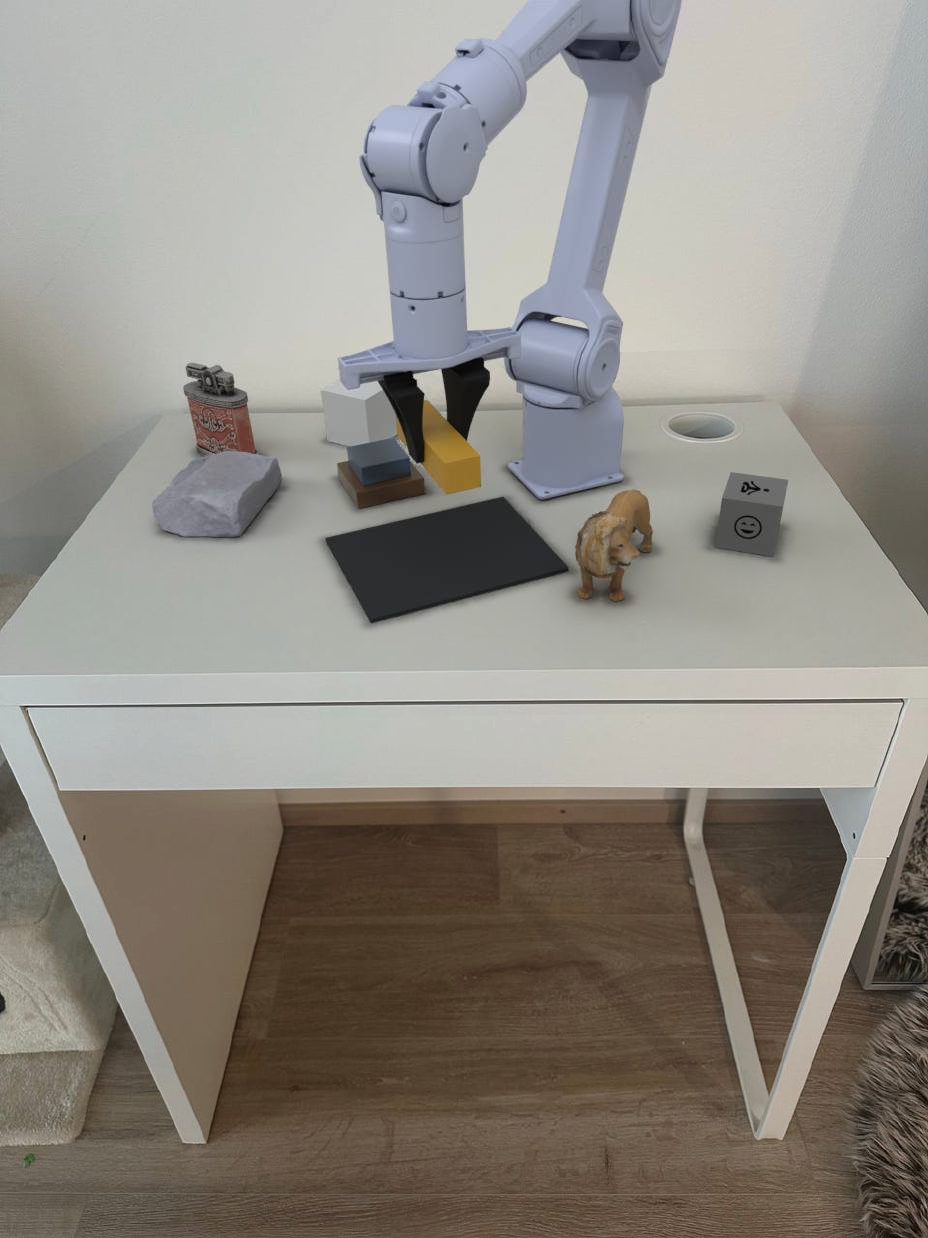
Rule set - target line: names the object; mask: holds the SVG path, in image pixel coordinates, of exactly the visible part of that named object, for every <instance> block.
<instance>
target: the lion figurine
mask: <svg viewBox="0 0 928 1238" xmlns="http://www.w3.org/2000/svg"><path fill="white" fill-rule="evenodd" d="M636 531H637V532H638V533H639V534H640V535H642V536H643V537H642V541H641V542H640V543H639V550H638V549H637V548H636V547H635V546H634V545H633V544H632V543H631V540H630V539H631V537H632V534H634V533H635V532H636ZM653 533H654V530H653V527H652V525H651V510H650V504H649V499H648V497H647V496H646V495H645V494H643V493H642V492H641V491H640V490H639V489H637V488H636V489H634V488H632V489H626V490H623V491H620V492H618V493H616V494H615V495H614V496H613V498H612V499H611V501H610V504H609V505H608V507H607V508H606V510H603V511H602V510H601V511H599V512H596V513H593V514H591V516H589V517H588V518H587V520H586V521H585V522H584V524H583V525H582V527H581V528H580V529H579V531H578V532H577V539H576V543H575V553H574V555H575V561H576V562H577V565H578V566H579V569H580V575H581V580H582V587H580V588H578V590H577V593H576V594H577V596H578V597H579V598H580V599H585V600H588V599H590V598H591V597H592V595H593V593H594V582H593V581H594V579H593V578H595V579H596V578H597V579H600V580H601V579H604V580H605V579H609V578H610V582H609V584H608V593H609V599H610V600H611V601H613V602H614V603H615V602H620V601H622V600H625V598H626V596H625V594H624V593H623V578H624V575H625V570H628V569H629V568H630V567H631V565H632V562H633V561H634V560H636V559H637V558H638V556H639V555H640V551H641V552H642V553H651V552H652V551H653V538H652V537H653Z"/></svg>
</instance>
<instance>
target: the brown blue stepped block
mask: <svg viewBox="0 0 928 1238" xmlns="http://www.w3.org/2000/svg"><path fill="white" fill-rule="evenodd" d="M346 452H347V460H345V461H340V462H337V463H336V468H337V475H338V479H339V481H340V483H341V485H342V486H343V487H344V489H345V490H346V492H347V493H348V495H349V497H350V498H351V500H352V501H353V503H354V505H355V506H356V507H357V509H363V508H367V507H372V506H377V505H380V504H381V505H382V504H385V503H389V502H395V501H398V500H403V499H407V498H411V497H415V496H416V497H417V496H420V495H421V496H422V495H424V494H426V488H425V487H426V485H425V477H424V476H423V475H422V473H421V471H419V470H418V469H417V467H416V466H415V465H414V463H412V461H411V456H410V455H409V454H408V453H406V451H405V450H404V448H403V447H402V446H401V445H400V444H399V442H398V441H397V440H396V439H395V437H393V438H389V439H384V440H379V441H375V442H370V443H365V444H360V445H355V446H350V447H349V446H346Z"/></svg>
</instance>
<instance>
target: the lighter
mask: <svg viewBox="0 0 928 1238" xmlns="http://www.w3.org/2000/svg"><path fill="white" fill-rule="evenodd" d="M184 368H185V372H186V377H187V378H191V379H195V381H191V382H187V383H186V384H184V385H183V387H182V390H183V394H184V396H185V397H186V399H187V403H188V407H189V412H190V417H191V422H192V426H193V429H194V434H195V438H196V439H195V440H196V443H195V447H196V452H197V455H199V456H201V457H205V456H207V455H209V454H218V453H221V452H225V451H232V452H233V451H237V452H247V453H251V454H259V451H258V450H257V449H256V445H255V440H254V433H253V429H252V422H251V417H250V413H249V408H248V406H249V405H248V402H249V397H248V392H247V391H245V390H243V389H240V388H238V387H235V383H236V382H235V378H234V373H233V372H229V371H226V370H224V369H223V367H222V366H221V365H219V364H215V365H213V366H211V367H208V366H207V365H204V364H200V363H197V362H189V363H186V365H185V367H184Z"/></svg>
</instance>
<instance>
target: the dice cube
mask: <svg viewBox="0 0 928 1238" xmlns="http://www.w3.org/2000/svg"><path fill="white" fill-rule="evenodd" d="M788 484H789V479H786V478H779V477H770V476H764V475H756V474H749V473H741V472H736V471H735V472H733V471H730V473H729V476H728V479H727V482H726V485H725V488H724V491H723V494H722V497H721V503H720V510H719V515H718V523H717V530H716V537H715V542H714V543H715V544H714V548H716V549H722V550H727V551H728V550H729V551H735V552H740V553H741V552H742V553H747V554H754V555H760V556H765V557H773V558H774V554H775V549H776V544H777V540H778V536H779V531H780V526H781V521H782V515H783V510H784V505H785V501H786V495H787V489H788Z"/></svg>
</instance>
